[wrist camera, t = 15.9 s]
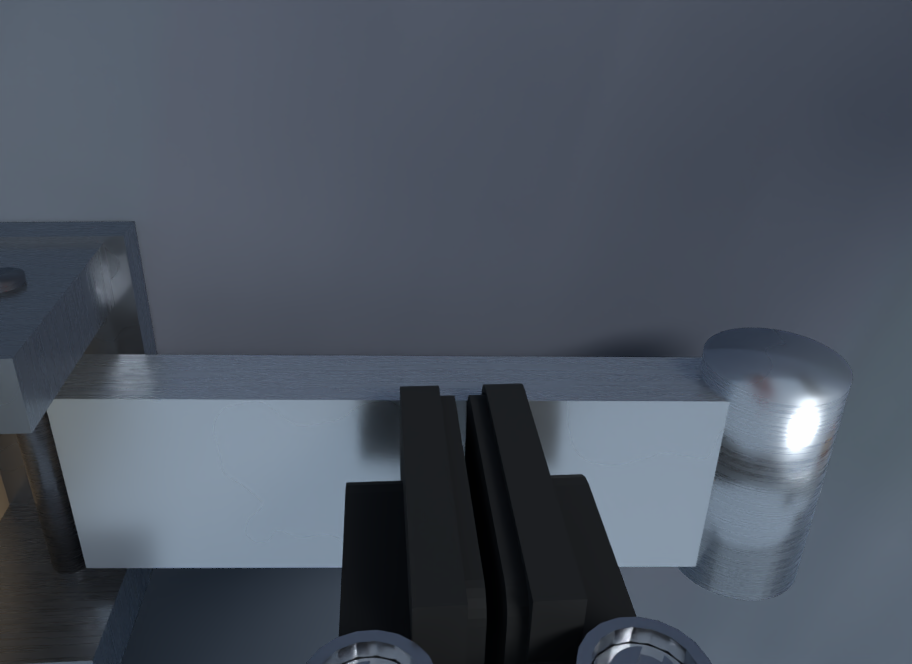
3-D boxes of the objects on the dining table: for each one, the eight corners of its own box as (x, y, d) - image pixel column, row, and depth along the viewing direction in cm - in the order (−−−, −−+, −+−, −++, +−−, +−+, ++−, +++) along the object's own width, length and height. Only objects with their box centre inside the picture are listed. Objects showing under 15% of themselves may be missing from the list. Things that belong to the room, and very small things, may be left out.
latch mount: (134, 221, 13) (37, 350, 9) (186, 525, 16) (127, 712, 12) (-72, 223, 12) (-251, 355, 9) (19, 530, 15) (-90, 723, 12)
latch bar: (817, 328, 13) (880, 399, 11) (770, 513, 14) (817, 600, 13) (83, 323, 12) (25, 395, 11) (124, 513, 14) (80, 603, 12)
